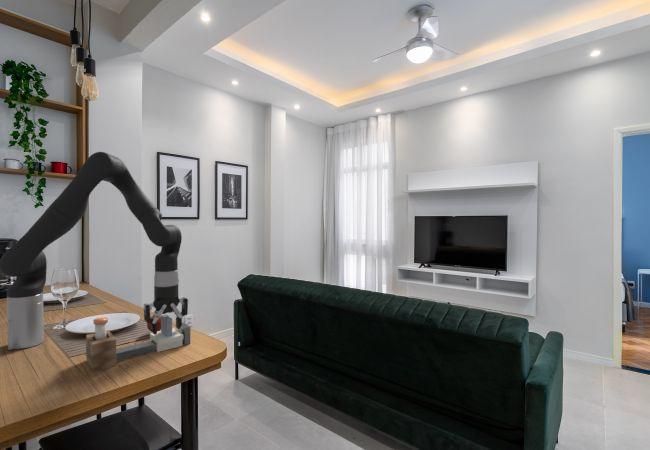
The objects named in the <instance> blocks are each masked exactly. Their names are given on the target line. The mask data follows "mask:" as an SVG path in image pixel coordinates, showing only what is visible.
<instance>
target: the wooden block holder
mask: <svg viewBox="0 0 650 450" xmlns="http://www.w3.org/2000/svg"><path fill="white" fill-rule="evenodd" d="M85 347H86V349H85V351H86V355H85V357H86V362H87V364H88V366H89V368H90V370H91V372H92V373H94V372H97V371H100V370H101V371H102V370H105V369H109V368H112V367H116V366H117V362H116V349H117V338H116V337H115V336H114V335H113V334H112V332H111V331H110V330H106V338H105V339H100V340H95V332H94V333H90V334H86V335H85Z"/></svg>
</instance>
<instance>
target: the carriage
mask: <svg viewBox="0 0 650 450" xmlns="http://www.w3.org/2000/svg"><path fill="white" fill-rule="evenodd" d="M149 338H150V341H152V340H153V341H154V342H155V343H156V351H155V352H157V353H160V352H163V351H168V350H171V349H175V348H178V347H182V346H183V345H182V339H183V334H181V333H180V332H179V331H178V329H177V328H176V327H173V318H172V317H170V316H169V315H168V314H167V313H166V314H161V330H160V331H158V332H157V334H153V333H152V332H149Z"/></svg>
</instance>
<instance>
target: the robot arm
mask: <svg viewBox="0 0 650 450" xmlns="http://www.w3.org/2000/svg"><path fill="white" fill-rule="evenodd" d="M102 181H103V182H107V183H110V184H111V185H113V187H115V188H116V189H117V190H118V191H119V192H120V193H121V195H122V196H123V197H124V201H125V202H126V205H127V208H128V209H129V210H130V212H131V213H132V214H133V216H134V217H135V218H136V219H137V220H138V222H139V223H140V224H141V225H142V228H143V230H144V231H145V234H146V236H147V238H148V239H149V240H150V242H151V243H152V244H153V245H155V246H156V247H161V250H160V252H159V253H157V254H156V255H155V258H154V277H153V279H154V280H153V290H154V291H153V295H154V296H153V301H152V303H144V304H143V318H144V320H143V321H144V322H146V324H147V323H151V331H150V333H153V334H157V323H156V322H157V320H158V318H159V317H160V316H161V315H165V314H166V315H167V313H169V314H171V313H173V314H174V315H175V316H176V317H175V329H176V330H178V329H180V327H181V326H182V323H183V320H182V319H183V317H184V316H185V317H186V316H187V315H188V313H189V312H188V311H189V310H188V308H189V306H188V305H189V299H188V297H187V298H186V297H185V296H184V297H182V298H179V282H180V280H179V271H178V270H179V269H178V257H179V253H180V249H181V245H182V241H183V239H182V237H183V236H182V232H181V230H180V228H179V227H178V226H177V225H174V224H164V223H163V222H162V218H163V215H162V213H161V211H160V210H159V209H158V207H156V205H155V204H154V203H153V202H152V200H150V199H149V196H147V195H146V194H145V193H144V191H143V190H142V189H141V188H140V186H139V185H138V183H137V181H136V180H135V178H134V177H133V176H132V174H131V171H130V170H129V168H128V166H127V165H126V164H125V162H124V161H123V160H122V159H120V158H119V157H117V156H115V155H112V154H109V153H108V152H104V151H97V152H94V153H92V154H91V155H90V156H88V158H87V159H86V160H85V162H84V163H83V164H82V165H81V168H80V169H79V170H78V172H77V173H76V174H75V176H74V178H73V179H72V180H71V181H70V182H69V183H68V185H67V186H66V187H65V189H64V190H63V191H62V192H61V193H60V194H59V196H58V197H56V199H54V200H53V202H52V203H51V204H50V205H49V206H48V207H47V209H45V211H44V212H43V214H41V216H40V217H39V218H38V219H37V220H36V221H35V222H34V224H33V225H31V227H30V228H29V229H28V230H27V231H26V233H24V235H23V236H22V237H21V238H20V239H18V241H16V242H15V243H14V244H12V246H11V247H10V248H8V249H7V250H6V251H5V252H4V253H3V254H2V255H1V257H0V272H1V274H3V275H5V276H7V277H11V278H12V277H15V280H14V282H13V283H12V284H10V286H8V287H7V289H6V305H7V307H6V313H7V316H6V317H7V319H6V320H7V350H8V351H9V350H10V351H11V350H22V349H26V348H27V349H28V348H32V347H35V346H37V345H40V344H43V342H44V341H45V327H44V325H45V319H44V317H45V315H44V287H45V285H46V282H47V268H48V267H47V266H48V265H47V263H48V261H47V257H46V254H45V253H44V250H45V249H46V248H47V247H48V246H49V245H51V244H52V243H54V242H55V241H57V240H58V239H60V238H62V237H63V236H64V235H66V234H67V233H68V232H69V231H71V230H72V229H73V228H74V227H75V226H76V225H77V223H78V222H80V220H81V219H82V218H83V217H84V215H85V213H86V211H87V208H88V204H89V203H88V202H89V198H90V195H91V194H92V192H93V191H94V190H95V188H96V187H97V186H98V185H99V184H101V182H102ZM179 304H181V311H180V310H179V309H178V305H179ZM153 308H154V309H155V310H154V312H153V313H152V314H153V315H152V316H151V311H152V309H153ZM151 317H152V318H151Z"/></svg>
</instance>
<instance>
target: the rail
mask: <svg viewBox="0 0 650 450" xmlns="http://www.w3.org/2000/svg"><path fill="white" fill-rule="evenodd" d="M177 331H179V332H180V333H181V334H183V339H182V346H183V345H184V346H186V345H190V344H191V326H190V325H189V324H187V323H186V322H182V326H181V327H180V329H177ZM155 352H157V351H156V343H155V342H154V341H153V340H152V341H151V340H148V341H145V342H140V343H136V344H131V345H127V346H122V347H119V348H116V363H117V362H121V361H124V360H129V359H131V358H135V357H139V356H144V355H147V354H151V353H155Z"/></svg>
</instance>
